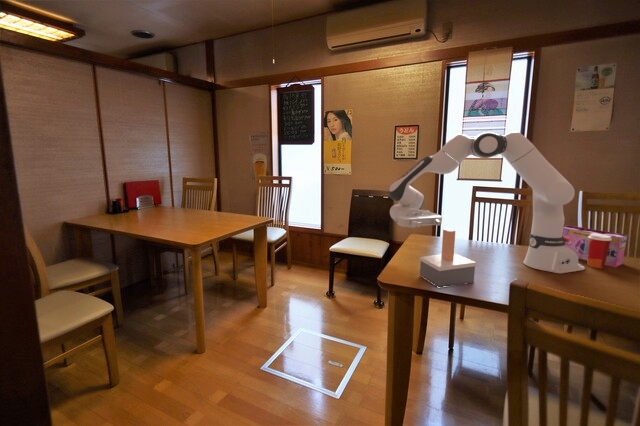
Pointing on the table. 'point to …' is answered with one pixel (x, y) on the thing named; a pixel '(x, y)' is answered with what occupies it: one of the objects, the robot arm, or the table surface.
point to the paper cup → (598, 250)
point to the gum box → (582, 240)
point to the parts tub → (447, 275)
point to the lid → (447, 255)
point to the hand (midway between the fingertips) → (429, 224)
